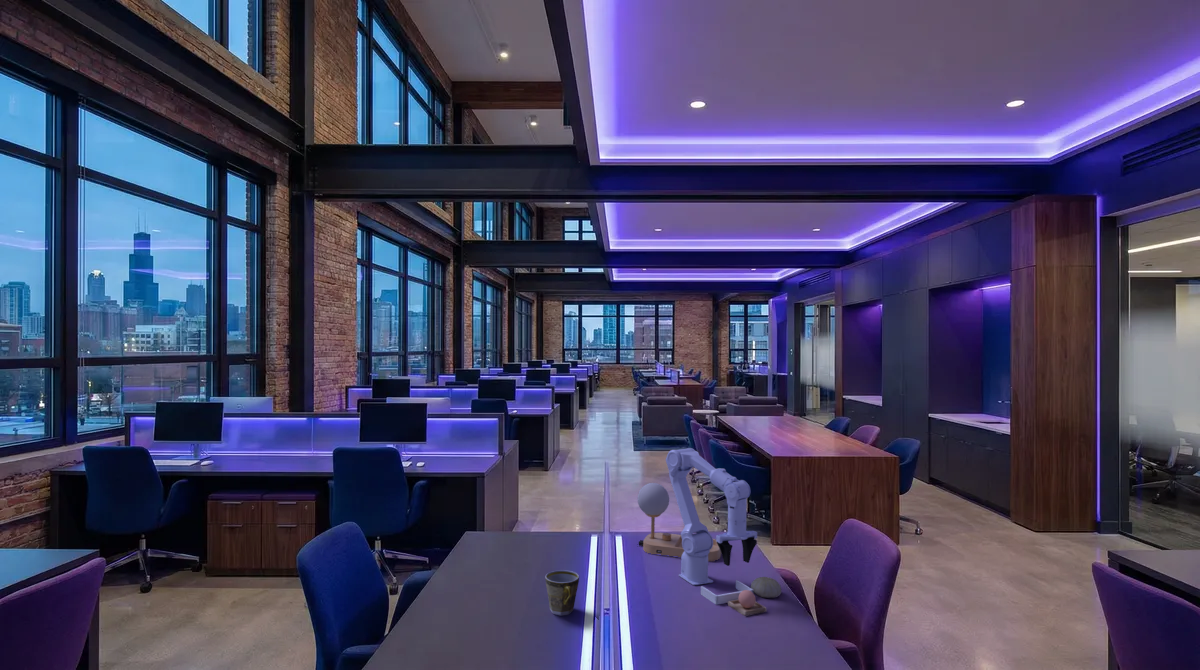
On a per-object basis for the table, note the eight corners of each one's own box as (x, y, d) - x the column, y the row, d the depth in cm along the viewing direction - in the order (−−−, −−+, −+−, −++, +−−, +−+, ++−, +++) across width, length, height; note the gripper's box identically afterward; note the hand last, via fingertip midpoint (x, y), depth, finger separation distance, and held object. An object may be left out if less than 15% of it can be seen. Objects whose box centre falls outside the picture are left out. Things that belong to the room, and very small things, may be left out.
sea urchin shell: (785, 595, 183) (767, 575, 184) (767, 611, 183) (748, 591, 185) (782, 584, 191) (764, 565, 193) (764, 599, 192) (747, 580, 194)
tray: (727, 605, 178) (728, 601, 178) (749, 601, 182) (749, 597, 182) (744, 616, 171) (744, 611, 171) (766, 611, 174) (766, 607, 174)
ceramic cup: (540, 605, 175) (541, 572, 175) (572, 601, 179) (573, 568, 179) (552, 624, 163) (553, 588, 163) (586, 619, 166) (587, 584, 167)
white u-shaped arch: (700, 594, 186) (700, 586, 186) (737, 588, 192) (737, 580, 192) (716, 604, 179) (716, 596, 179) (753, 597, 184) (753, 589, 185)
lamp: (723, 549, 232) (724, 484, 233) (718, 563, 215) (719, 494, 216) (641, 539, 242) (642, 477, 243) (631, 552, 225) (632, 486, 226)
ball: (735, 605, 178) (734, 589, 177) (748, 602, 180) (748, 585, 180) (745, 612, 173) (745, 595, 173) (759, 609, 175) (759, 592, 175)
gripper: (726, 525, 179) (725, 570, 179) (763, 520, 185) (763, 564, 185) (712, 519, 186) (711, 562, 185) (749, 515, 192) (748, 557, 191)
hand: (736, 563), depth 185 cm, fingers open, 7 cm apart
